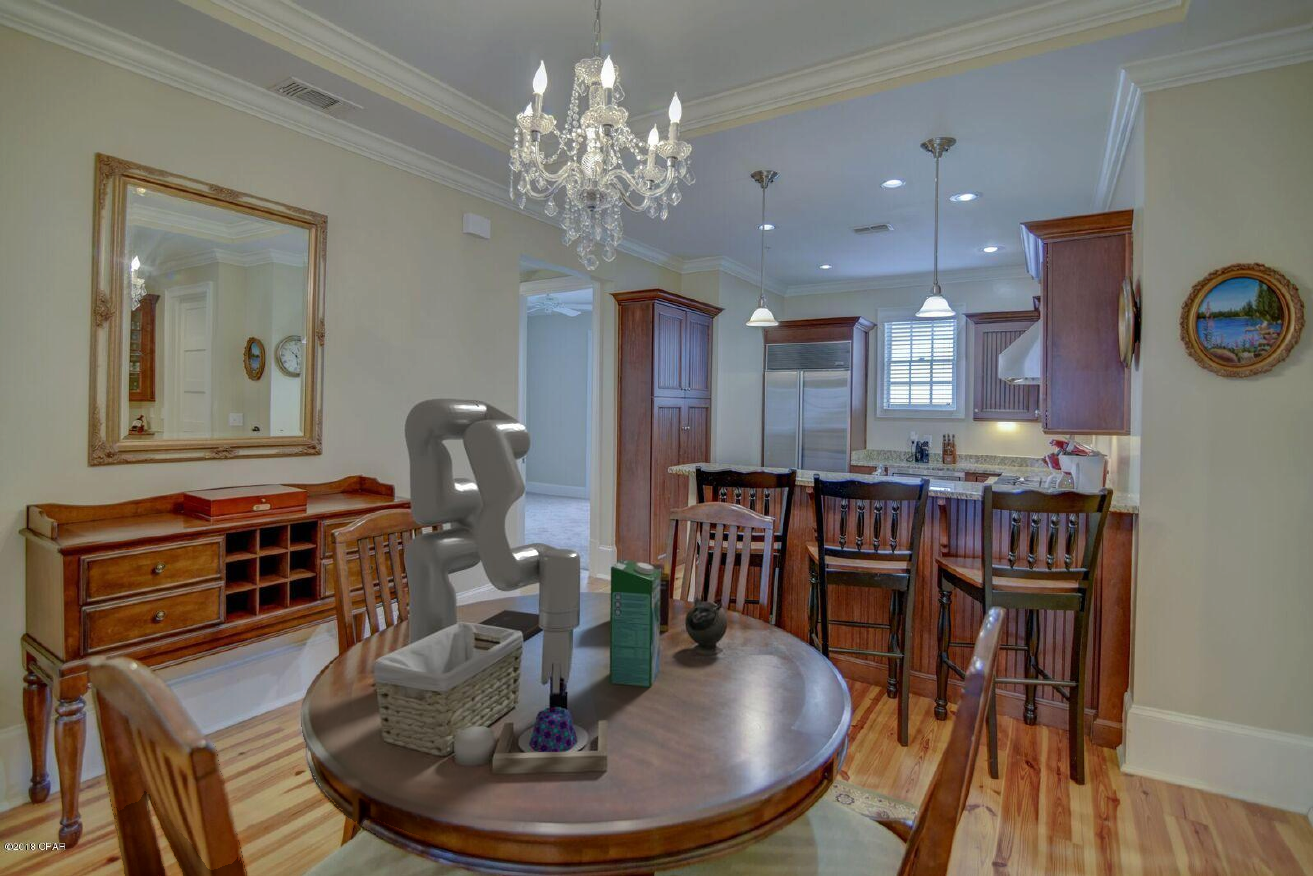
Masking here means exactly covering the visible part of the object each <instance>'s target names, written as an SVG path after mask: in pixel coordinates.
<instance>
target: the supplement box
mask: <svg viewBox="0 0 1313 876" xmlns="http://www.w3.org/2000/svg"><path fill="white" fill-rule="evenodd" d="M648 564H649V563H648ZM649 565H651V566H653V567H654V568H655V569H658V570H661V580H660V632H668V631H669V623H670V621H669V619H670V618H669V617H670V588H671V587H670V583H671V581H670V579H671V578H670V577H671V575H670V574H671V573H670V572H671V571H670V564H649Z"/></svg>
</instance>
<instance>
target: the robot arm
mask: <svg viewBox="0 0 1313 876" xmlns="http://www.w3.org/2000/svg"><path fill="white" fill-rule="evenodd" d="M404 438H405V439H404V440H405V443H406V447H407V452H408V458H409V489H410V490H409V491H410V497H409V498H410V512H411V516H412V519H413V521H414V522H415V523H416V524H418V525H420V526H422V527H423V526H424V527H430V526H431V527H433V526H441V525H446V524H450V528H447V529H440V530H435V531H431V532H429V531H428V532H425V533H422V534H419V535H417V536H415V537H413V538H412V539H411V540H410V541H408V542H407V544H406V547H405V549H404V553H403V563H404V568H405V572H406V576H407V577H406V578H407V583H408V604H409V605H408V607H409V609H408V612H409V613H408V616H409V617H408V619H409V624H408V626H409V630H408V631H409V633H408V635H409V636H408V638H409V639H408V640H409V641H408V645H410V644H412V643H415V642H417V641H419V640H421V639H423V638H425V637H427V636H430V635H432V634H434V633H436V632H438V631H440V630H443V629H445V628H448V627H450V626H453V625H455V624H457V623H458V621H457V618H458V615H457V614H458V613H457V611H458V605H457V604H458V602H457V594H456V593H457V592H456V590H455V588H454V586H453V584H452V583H451V581H450V578H449V575H450V574H455V573H459V572H462V571H465V570H469V569H471V568H474V567H475V566H477V565H478V564H479V563H481V565H482V567H483V570H484V573H485V575H486V578H487V579H488V581H489V583H490V584H491V585H492V586H493V587H494V588H495V589H497V590H499V591H501V592H511V591H512V592H513V591H517V590H519V589H522V588H525V587H528V586H531V585H535V584H538V585H539V586H538V614H539V627H540V628H541V629H543V636H542V637H543V639H542V655H541V657H542V658H541V679H540V680H541V682H540V683H541V685H542V686H545V685H548V683H549V691H550V692H549V697H548V698H549V701H548V702H549V705H548V706H549V707H548V708H554V707H560V708H564V709H567V710H568V696H569V695H568V694H569V693H568V691H567V688H568V687H567V686H568V683H569V680H570V674H571V670H572V662H573V653H574V652H573V651H574V630H575V629H578V627H580V620H581V619H580V617H581V614H580V613H581V603H580V602H581V556H580V554H579V553H578V552H577V551H576V550H573V549H569V548H557V547H554V546H551V545H549V544H547V543H542V542H534V543H529V544H526V545H520V546H517V547H511V545H510V544H509V540H508V537H507V533H506V532H507V531H506V519H507V515H508V513H509V511H510V508H511V507H512V506H513V505H514V504H515V502H517V501H519V500H520V499H521V498H522V496H523V495H524V494H525V491H526V486H525V484H524V480H523V478H522V474H521V472H520V469H519V466H518V464H517V460H520V459H522V458H524V457H525V456H526V455H528V452H529V451H530V448H531V437H530V433H529V431H528V429H527V428H526V426H525V425H524V424H523V423H522V422H521V421H519V420H518V419H516V418H515V417H512V416H511V415H509V414H507V412H504V411H502V410H500V409H499V408H497V407H496V406H493V405H491V404H490V403H487V402H485V401H482V400H474V399H460V398H459V399H456V398H433V399H427V400H422V401H419V402H418V403H416V404H415V405H414V406H413V407H412V408H411V409H410V411H409V412H408V413H407V416H406V419H405V424H404ZM447 440H454V441H455V440H456V441H457V440H459V441H460V440H462V443H463V447H464V451H465V452H466V456H467V459H468V462H469V465H470V468H471V471H472V474H473V477H474V480H475V481H473V480H471V479H469V478H466V477H456V478H454V476H453V460H452V456H451V454H450V452H449V450H448V448H447V446H446V445H445V444H444V443H443V441H447Z"/></svg>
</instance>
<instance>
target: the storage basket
mask: <svg viewBox="0 0 1313 876" xmlns="http://www.w3.org/2000/svg"><path fill="white" fill-rule="evenodd" d="M474 638H480V639H487V640H490V641H491V640H493V641H498V642H500V644H498V645H496V646H494V647H493V648H488V649H487V650H486V649H479V648H475V647H476V646H475V639H474ZM523 651H524V643H523V634H522V632H521V631H515V630H511V629H505V628H500V627H494V626H487V625H481V624H478V623H473V622H472V623H470V622H464V621H459V622H457V624H455V625H453V626H450V627H448V628H445V629H443V630H440V631H438V632H436V633H434V634H432V635H430V636H427V637H425V638H423V639H421V640H419V641H417V642H415V643H412V644H410V645H409V644H408V645H406V646H404V647H402V648H398V649H397V650H394V651H392V652H390V653H387V654H385V655H383V656H381V657H378V658H377V659H375V660H374V661H373V664H372V667H373V681H374V683H375V688H376V694H377V702H378V703H377V704H378V707H379V709H378V710H379V711H378V712H379V713H378V714H379V719H380V724H381V731H382V732H381V735H382V739H383V740H384V741H385V742H386V743H389V744H393V745H397V746H400V747H405V748H407V749H410V750H414V751H419V752H421V753H428V754H430V755H432V756H441V757H446V756H449V755H450V754H451V753H454V737H455V735H456V734H457V733H458V732H460V731H461V730H464V729H466V728H470V727H478V726H480V727H487V728H488V726H489V725H491V724H494V722H496V720H498V719H499V718H500V717H502V716H504V714H506V713H507V712H509V711H511V710H512V709H513V708H515V706H518V704H519V703H520V700H519V696H520V685H521V679H520V678H521V672H522V671H521V667H522V665H521V664H522V663H521V662H522V659H523V657H522V656H523V653H524V652H523Z"/></svg>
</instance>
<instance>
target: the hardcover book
mask: <svg viewBox="0 0 1313 876" xmlns="http://www.w3.org/2000/svg"><path fill="white" fill-rule="evenodd" d="M477 624H481V625H487V626H494V627H500V628H505V629H511V630H515V631H521V632H522V634H523V644H524V643H525V642H527V641H529V640H530V639H532V638H533V637H535V636H537V635H538V634H540V633H541V632H544V630H543V629H541V628H540V627H539V613H532V612H525V611H524V612H523V611H516V610H510V609H509V610H508V609H504V610H502V611H500V612H498V613H496V614H495V615H492V616H491V617H488V618H487V619H485V620H483V621H480V622H479V623H477ZM474 639H475V646H474V647H480V648H487V649H491V648H493V647H494V646H496V645H498V644H500V642H498V641H493V640H491V641H490V640H487V639H480V638H474Z"/></svg>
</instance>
